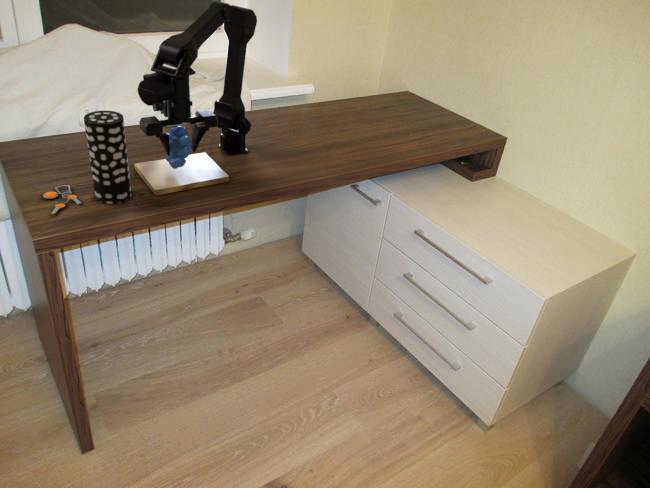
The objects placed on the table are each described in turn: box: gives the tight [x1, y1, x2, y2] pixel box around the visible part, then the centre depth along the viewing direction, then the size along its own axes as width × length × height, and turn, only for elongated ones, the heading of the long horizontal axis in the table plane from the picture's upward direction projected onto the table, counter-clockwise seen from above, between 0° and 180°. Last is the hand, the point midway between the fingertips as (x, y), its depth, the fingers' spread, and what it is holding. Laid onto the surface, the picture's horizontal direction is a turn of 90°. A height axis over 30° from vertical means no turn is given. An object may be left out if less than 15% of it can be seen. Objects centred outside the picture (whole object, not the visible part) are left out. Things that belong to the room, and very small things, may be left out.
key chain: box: [42, 184, 82, 215], centre depth 128 cm, size 13×7×1 cm, turn 31°
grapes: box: [164, 126, 193, 169], centre depth 141 cm, size 12×7×12 cm, turn 35°
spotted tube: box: [83, 110, 132, 205], centre depth 127 cm, size 8×8×20 cm
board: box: [133, 152, 230, 196], centre depth 145 cm, size 20×16×2 cm
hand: (181, 153), depth 142 cm, fingers closed on grapes, 6 cm apart
